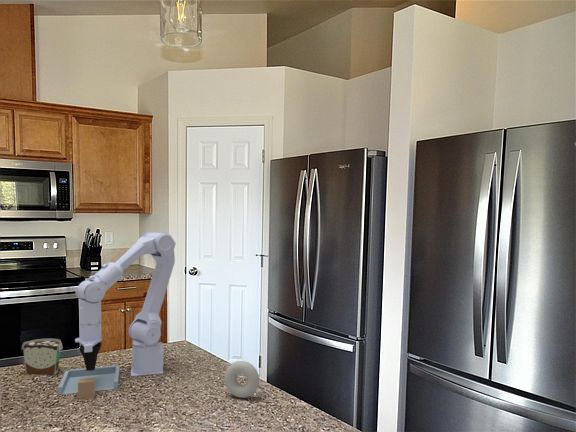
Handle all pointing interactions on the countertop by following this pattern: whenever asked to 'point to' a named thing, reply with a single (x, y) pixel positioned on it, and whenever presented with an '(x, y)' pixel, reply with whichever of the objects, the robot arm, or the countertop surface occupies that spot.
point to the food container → (42, 356)
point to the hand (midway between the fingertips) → (90, 369)
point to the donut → (250, 374)
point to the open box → (103, 377)
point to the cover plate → (86, 390)
